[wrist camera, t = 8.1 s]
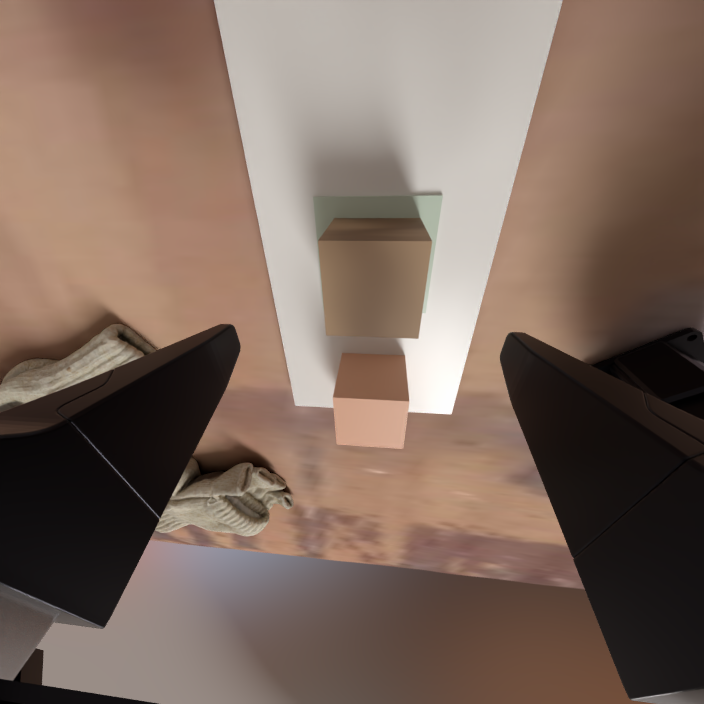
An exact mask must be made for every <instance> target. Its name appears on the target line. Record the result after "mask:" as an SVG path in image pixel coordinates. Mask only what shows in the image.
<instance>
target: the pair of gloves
mask: <svg viewBox="0 0 704 704" xmlns="http://www.w3.org/2000/svg"><path fill="white" fill-rule="evenodd" d="M155 351H157V350H155V349H154V348H153V347H152V346H151V345H149V344H148V343H146V342H145V341H144V340H143V339H142V338H141V337H140V336H139V335H137V334H136V333H135V332H134V331H133V330H132V329H130V328H129V327H127V326H125V325H122V324H112V325H110V326H109V327H107V328H105V329H104V330H103V331H102V332H101V333H100V334H98V335H96V336H95V337H93V338H92V339H91V340H90V341H89V342H88V343H86V344H85V345H84V346H83V347H81V348H80V349H78V350H77V351H75V352H74V353H72V354H71V355H70V356H68V357H66V358H64V359H62V360H60V361H59V360H50V359H40V358H36V359H30V360H27V361H24V362H22V363H20V364H18V365H16V366H15V367H14V368H13V369H11V370H10V371H9V372H8V373H7V374H6V376H5V377H4V379H3V381H2V383H1V385H0V412H3V411H5V410H8V409H11V408H13V407H16V406H19V405H21V404H24V403H27V402H30V401H32V400H35V399H38V398H40V397H43V396H46V395H48V394H51V393H54V392H56V391H59V390H62V389H64V388H67V387H69V386H72V385H75V384H77V383H80V382H82V381H85V380H87V379H90V378H92V377H95V376H97V375H100V374H102V373H104V372H107V371H109V370H112V369H115V368H116V367H119V366H121V365H124V364H126V363H128V362H131V361H133V360H136V359H138V358H140V357H143V356H145V355H148V354H150V353H152V352H155ZM285 487H286V483H285V482H284V480H282V479H281V478H280V477H279V476H278V475H277V474H274V473H270V472H269V471H268V470H267V469H265V468H262V467H260V468H257V467H253V465H252V464H251V463H241V464H238V465H235V466H234V467H232V468H231V469H229V470H228V471H226V472H213V473H209V474H204V475H201V473H200V470H199V466H198V463H197V461H196V460H195V459H193V458H192V457H191V459H190V461H189V463H188V465H187V467H186V469H185V471H184V473H183V475H182V477H181V479H180V481H179V483H178V485H177V487H176V489H175V491H174V493H173V494H172V496H171V498H170V500H169V502H168V504H167V506H166V508H165V510H164V512H163V514H162V516H161V518H160V519H159V523H158V525H157V527H156V528H155V530H156V531H159V532H160V533H166V532H171V531H173V530H176V529H179V528H181V527H184V526H186V525H189V524H193V525H196V526H198V527H201V528H203V529H206V530H209V531H216V532H225V533H236V534H239V535H242V536H252V535H256V534H258V533H259V532H260V531H262V530H263V529H264V527H265V526H266V525H267V523H268V522H269V512H268V510H269V509H271V508H272V507H273V504H274V503H276V504H280V505H282V506H283V507H285V508H287V509H290V508H291V507H293V499H292V497H291V495H290V494H289V493H285V492H283V491H281V489H284V488H285Z"/></svg>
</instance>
